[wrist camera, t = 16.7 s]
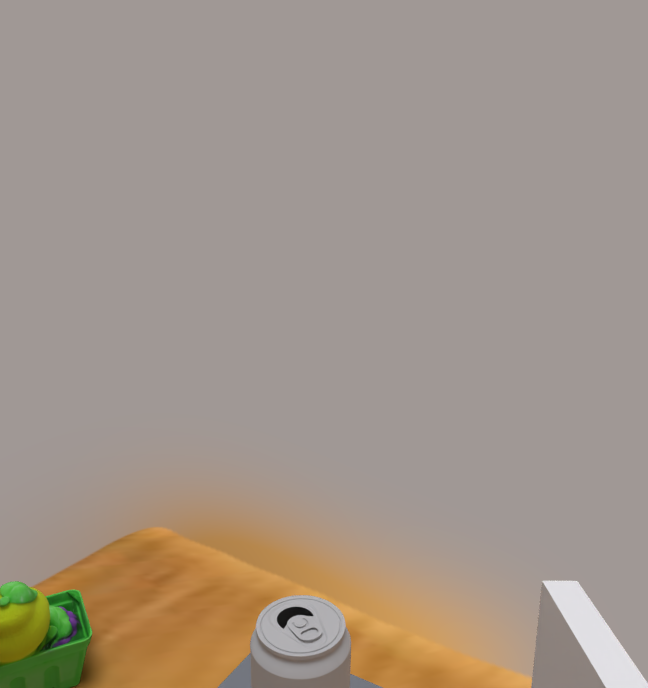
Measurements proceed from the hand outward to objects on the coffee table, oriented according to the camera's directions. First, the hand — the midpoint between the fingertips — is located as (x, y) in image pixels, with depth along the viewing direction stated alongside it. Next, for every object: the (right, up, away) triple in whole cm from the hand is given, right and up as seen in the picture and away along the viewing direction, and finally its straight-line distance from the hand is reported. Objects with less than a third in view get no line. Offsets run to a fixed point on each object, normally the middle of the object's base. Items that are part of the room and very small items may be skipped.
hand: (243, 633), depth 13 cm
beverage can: (0, -23, +27) cm, 36 cm away
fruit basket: (-23, -23, +37) cm, 49 cm away
